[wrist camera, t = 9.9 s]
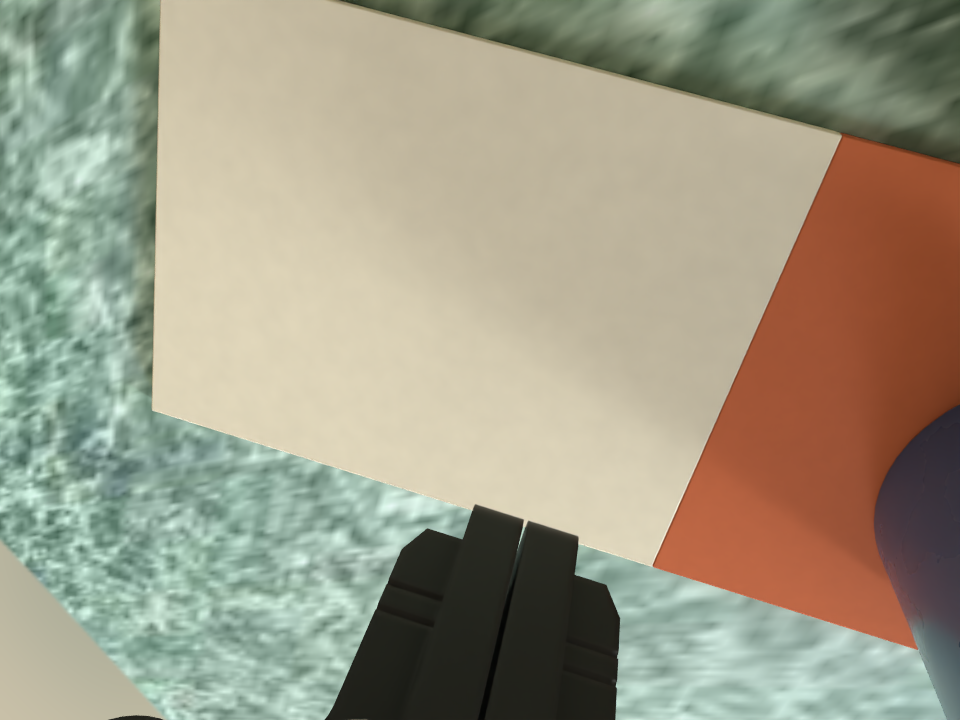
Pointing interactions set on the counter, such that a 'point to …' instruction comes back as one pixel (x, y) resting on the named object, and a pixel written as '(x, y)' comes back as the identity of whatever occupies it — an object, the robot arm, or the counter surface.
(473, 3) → the counter surface
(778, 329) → the mat
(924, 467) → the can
